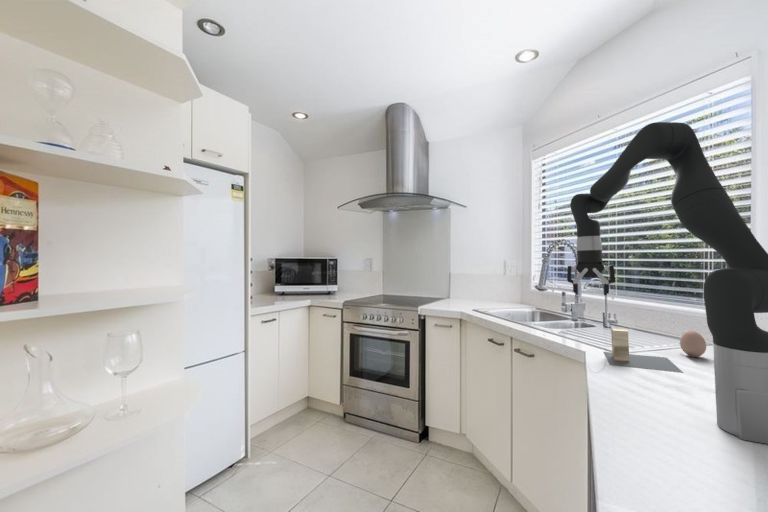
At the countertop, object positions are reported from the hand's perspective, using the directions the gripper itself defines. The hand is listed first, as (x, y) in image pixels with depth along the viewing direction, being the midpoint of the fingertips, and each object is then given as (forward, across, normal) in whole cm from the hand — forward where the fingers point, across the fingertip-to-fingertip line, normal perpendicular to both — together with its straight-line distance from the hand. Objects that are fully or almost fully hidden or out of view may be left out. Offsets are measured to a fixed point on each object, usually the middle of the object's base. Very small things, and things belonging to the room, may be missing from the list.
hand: (590, 294), depth 112 cm
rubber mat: (+23, +13, 0) cm, 26 cm away
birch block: (+22, +8, 0) cm, 23 cm away
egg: (+23, +31, +16) cm, 41 cm away
